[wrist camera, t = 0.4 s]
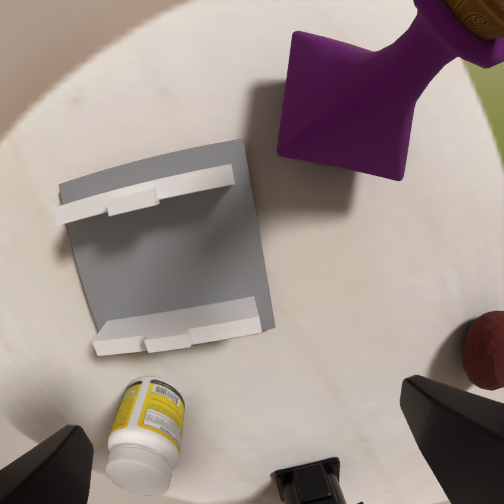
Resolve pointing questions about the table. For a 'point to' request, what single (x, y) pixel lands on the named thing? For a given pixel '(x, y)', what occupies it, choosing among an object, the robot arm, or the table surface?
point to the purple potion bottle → (378, 85)
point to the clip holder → (169, 250)
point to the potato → (485, 351)
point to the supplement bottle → (146, 437)
